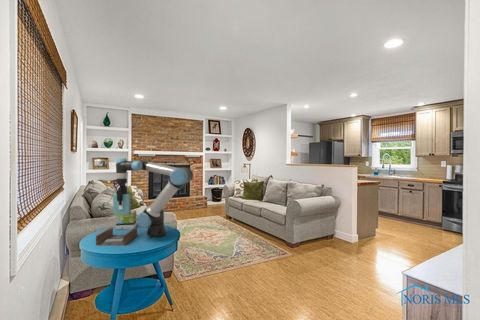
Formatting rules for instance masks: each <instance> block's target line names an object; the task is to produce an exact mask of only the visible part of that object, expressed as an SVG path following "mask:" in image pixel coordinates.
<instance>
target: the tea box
mask: <svg viewBox="0 0 480 320" xmlns="http://www.w3.org/2000/svg"><path fill="white" fill-rule="evenodd" d="M136 219H137V210H136V209H131V214H119V215H115V229H116V230H132V229H134V228H135V227H137V220H136Z"/></svg>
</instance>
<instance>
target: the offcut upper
mask: <svg viewBox="0 0 480 320" xmlns="http://www.w3.org/2000/svg"><path fill="white" fill-rule="evenodd" d="M103 243H104V244H122V243H123V239H107V240H106V241H104V242H103Z"/></svg>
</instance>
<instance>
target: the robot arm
mask: <svg viewBox="0 0 480 320" xmlns="http://www.w3.org/2000/svg"><path fill="white" fill-rule="evenodd" d="M115 169H116V172H115V178H116V179H115V184H117V187H115V191H116V194H117V201H119V209H123V201H122V194H127V193H128V185H126V184H128V172H130V171H131V172H133V171H134V172H139V171H144V172H145V171H146V172H151V173H156V174H161V175H164V176H169V177H168V180H167V181H168V183H167V184H166V185H165V187H164V188H163V189H162V190H161V191H160V193H159V194H158V195H157V196H156V198H154V200H153V202H152V203H151V204H150V205H147V206H146V207H145V208H144V210H143V211H142V212H140V213H139V214H138V215H136V225H138V227H139V228H141V229H147V231H146V236H148V237H149V238H161V237H163V236H166V235H167V230H166V227H165V210H164V209H165V207H166V205H167V204H168V203H169V202H170V200H171V199H172V198H173V196H174V195H175V194H176V193H177V191H179V190H181V189H182V188H183V187H184V186H185V185H186V184H187V183H189V182H191V181H192V180H193V178H194V173H193V171H192V169H191V168H188V167H181V166H177V167H176V166H175V167H174V166H170V165H166V164H163V163H156V162H151V161H149V160H127V158H122V157H121V158H116V160H115Z"/></svg>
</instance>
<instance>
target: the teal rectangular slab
mask: <svg viewBox="0 0 480 320" xmlns="http://www.w3.org/2000/svg"><path fill="white" fill-rule="evenodd" d="M131 197H132V195H131V194H130V193H129V194H122V201H123V209H119V201H117V193H116V194H113V195H112V201H113V202H112V203H113V204H112V205H113V206H112V207H113V208H112V209H113V211H112V212H113V214H112V215H115V216H116V215H119V214H131V210H132V208H131V207H132V206H131V203H132V202H131V201H132V200H131Z"/></svg>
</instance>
